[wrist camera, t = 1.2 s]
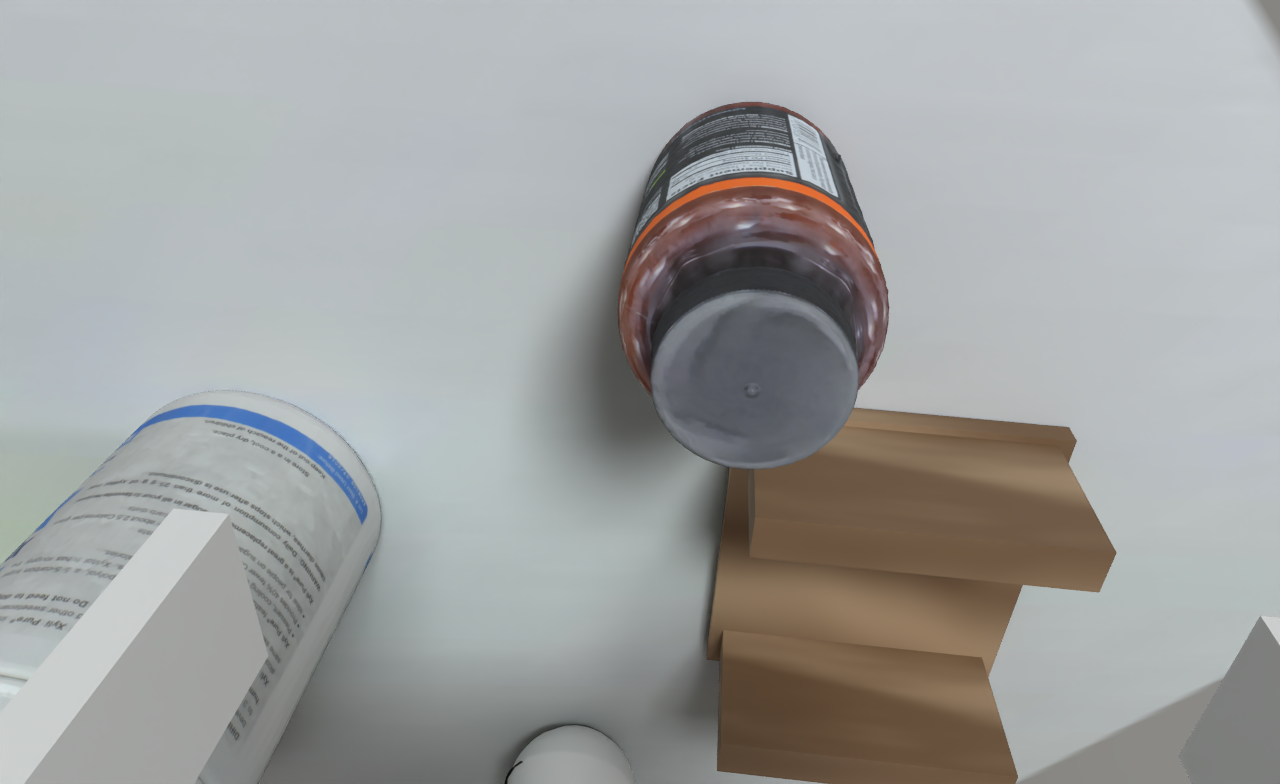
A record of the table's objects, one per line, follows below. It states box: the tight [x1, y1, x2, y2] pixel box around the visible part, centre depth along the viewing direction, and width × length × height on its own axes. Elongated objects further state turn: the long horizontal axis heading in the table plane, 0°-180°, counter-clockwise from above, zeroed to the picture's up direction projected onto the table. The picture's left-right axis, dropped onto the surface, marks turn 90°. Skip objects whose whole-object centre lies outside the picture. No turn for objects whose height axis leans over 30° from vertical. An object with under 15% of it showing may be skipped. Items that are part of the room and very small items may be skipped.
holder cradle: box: [707, 408, 1116, 784], centre depth 30 cm, size 12×11×6 cm
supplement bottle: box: [618, 102, 889, 470], centre depth 22 cm, size 6×6×11 cm
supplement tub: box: [0, 390, 381, 784], centre depth 28 cm, size 10×10×15 cm
